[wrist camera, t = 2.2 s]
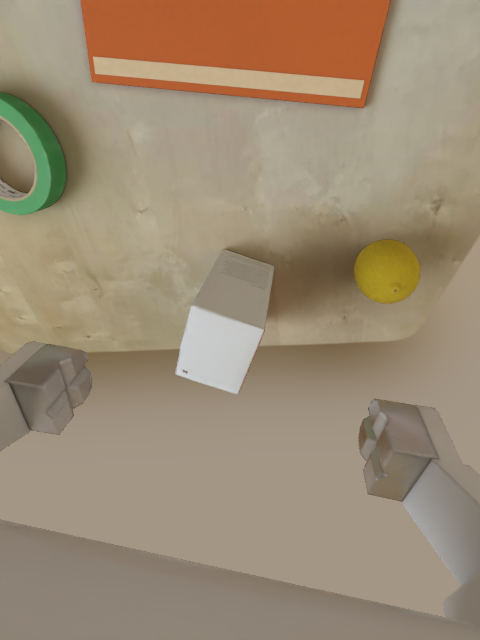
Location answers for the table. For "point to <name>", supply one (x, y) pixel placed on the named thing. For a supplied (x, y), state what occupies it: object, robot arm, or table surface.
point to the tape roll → (44, 158)
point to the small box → (226, 322)
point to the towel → (238, 46)
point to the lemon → (387, 271)
